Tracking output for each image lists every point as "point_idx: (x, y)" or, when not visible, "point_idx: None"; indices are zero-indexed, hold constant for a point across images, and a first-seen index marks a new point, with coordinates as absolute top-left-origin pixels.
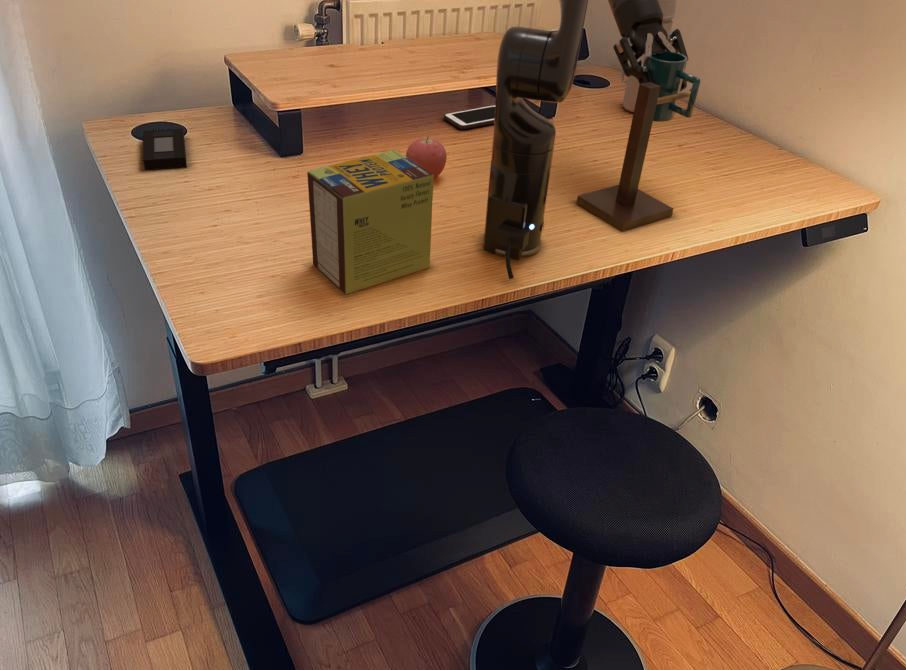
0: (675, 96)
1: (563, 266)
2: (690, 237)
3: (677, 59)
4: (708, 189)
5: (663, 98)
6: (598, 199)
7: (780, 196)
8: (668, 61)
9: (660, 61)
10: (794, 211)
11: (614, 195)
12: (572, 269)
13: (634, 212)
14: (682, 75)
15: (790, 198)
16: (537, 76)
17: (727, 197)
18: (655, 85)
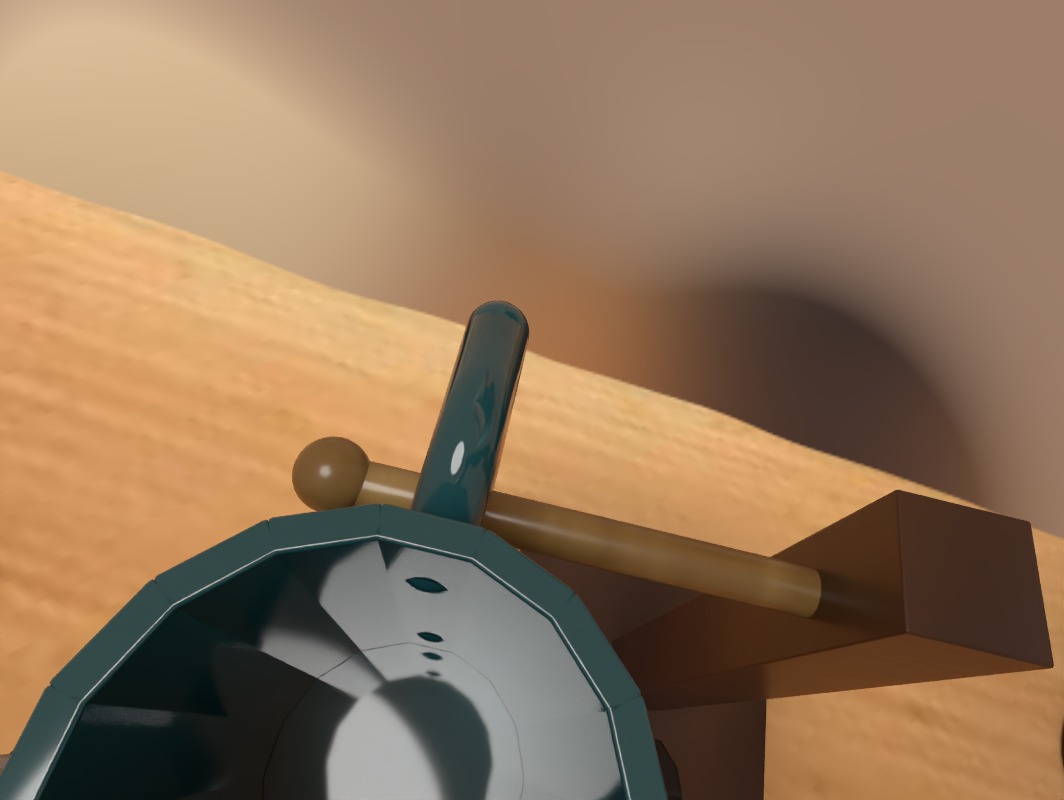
0: (566, 512)
1: (1056, 572)
2: (603, 411)
3: (93, 779)
4: (195, 545)
5: (705, 544)
6: (711, 770)
7: (77, 339)
8: (590, 646)
9: (653, 756)
10: (179, 273)
11: None
12: (1040, 544)
13: (675, 594)
14: (488, 484)
15: (73, 312)
16: None
17: (221, 461)
18: (928, 532)
